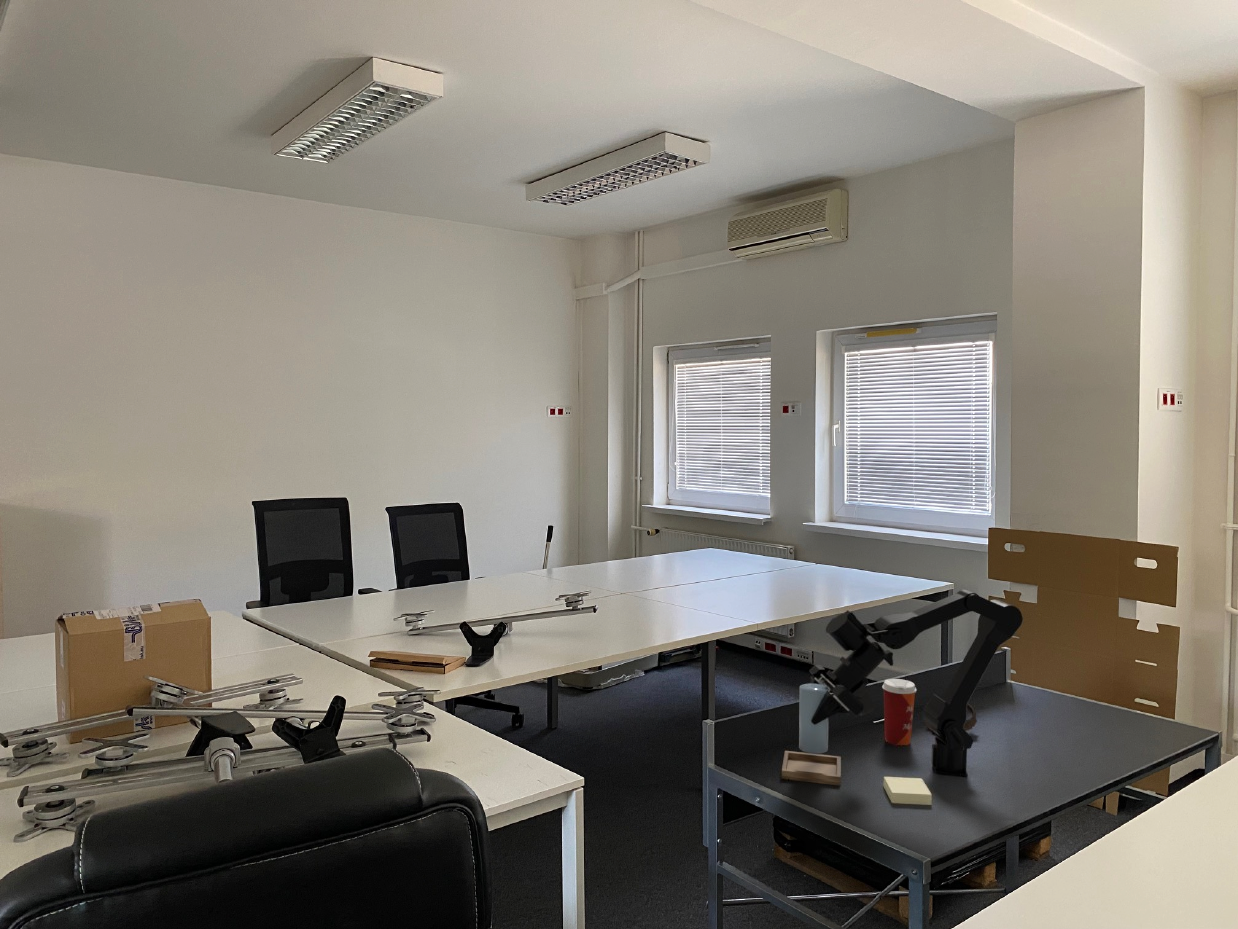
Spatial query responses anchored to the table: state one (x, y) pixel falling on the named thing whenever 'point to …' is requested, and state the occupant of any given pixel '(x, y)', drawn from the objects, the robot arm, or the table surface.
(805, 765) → the tray
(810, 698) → the pale blue cylinder
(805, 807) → the table surface
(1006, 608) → the robot arm
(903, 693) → the paper cup
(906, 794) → the sticky note pad
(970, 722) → the pottery mug
